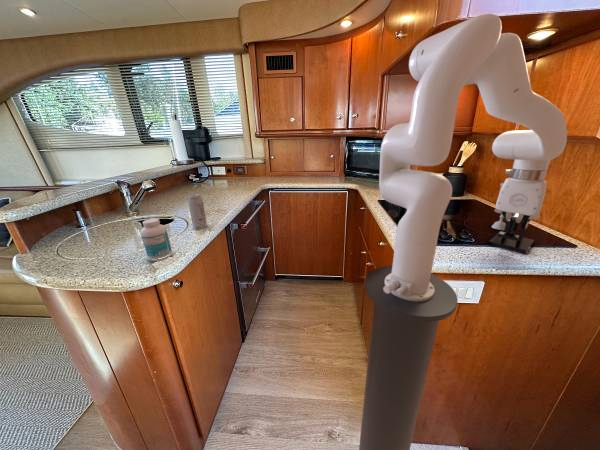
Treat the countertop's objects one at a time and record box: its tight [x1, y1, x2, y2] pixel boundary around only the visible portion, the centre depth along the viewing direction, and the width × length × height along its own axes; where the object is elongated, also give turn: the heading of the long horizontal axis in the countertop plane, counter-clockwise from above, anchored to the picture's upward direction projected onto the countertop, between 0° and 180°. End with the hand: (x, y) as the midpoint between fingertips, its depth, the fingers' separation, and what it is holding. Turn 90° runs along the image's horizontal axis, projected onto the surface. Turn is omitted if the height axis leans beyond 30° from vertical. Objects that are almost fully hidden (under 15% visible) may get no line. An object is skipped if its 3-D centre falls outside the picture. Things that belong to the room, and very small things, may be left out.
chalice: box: [491, 182, 506, 231], centre depth 95 cm, size 7×7×18 cm
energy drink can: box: [187, 193, 208, 230], centre depth 107 cm, size 6×6×15 cm
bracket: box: [488, 213, 535, 255], centre depth 82 cm, size 12×10×12 cm
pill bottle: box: [140, 218, 173, 262], centre depth 80 cm, size 8×7×14 cm
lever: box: [497, 214, 523, 241], centre depth 79 cm, size 12×5×2 cm, turn 129°
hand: (510, 232), depth 76 cm, fingers closed
